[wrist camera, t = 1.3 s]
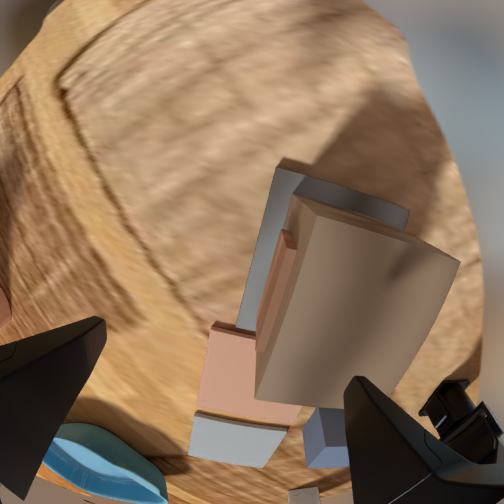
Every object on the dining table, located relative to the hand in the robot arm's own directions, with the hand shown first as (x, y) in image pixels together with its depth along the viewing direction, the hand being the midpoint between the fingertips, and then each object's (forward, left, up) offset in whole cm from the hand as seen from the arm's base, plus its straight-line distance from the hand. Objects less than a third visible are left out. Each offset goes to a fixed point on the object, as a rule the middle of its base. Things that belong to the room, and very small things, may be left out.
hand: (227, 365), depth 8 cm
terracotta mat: (-4, +13, -13) cm, 19 cm away
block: (-14, +18, -13) cm, 26 cm away
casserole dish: (+20, +47, -14) cm, 53 cm away
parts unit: (-6, 0, -13) cm, 14 cm away
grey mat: (-4, +26, -13) cm, 29 cm away
